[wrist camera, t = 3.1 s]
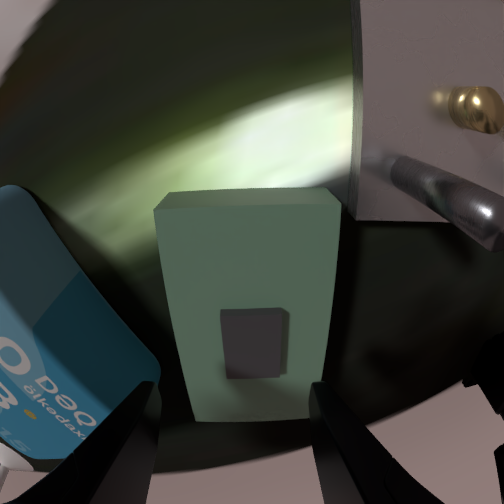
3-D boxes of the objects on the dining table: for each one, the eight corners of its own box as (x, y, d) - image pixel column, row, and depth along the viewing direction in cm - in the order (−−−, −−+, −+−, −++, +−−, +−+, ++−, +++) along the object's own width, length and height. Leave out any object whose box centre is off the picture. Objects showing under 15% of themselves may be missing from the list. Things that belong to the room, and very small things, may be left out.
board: (322, 185, 11) (345, 207, 9) (306, 380, 16) (315, 424, 13) (171, 189, 11) (149, 214, 9) (200, 383, 15) (195, 427, 13)
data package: (-101, 319, 8) (-57, 201, 6) (-61, 281, 13) (18, 167, 10) (29, 460, 13) (159, 450, 11) (51, 412, 17) (175, 374, 15)
